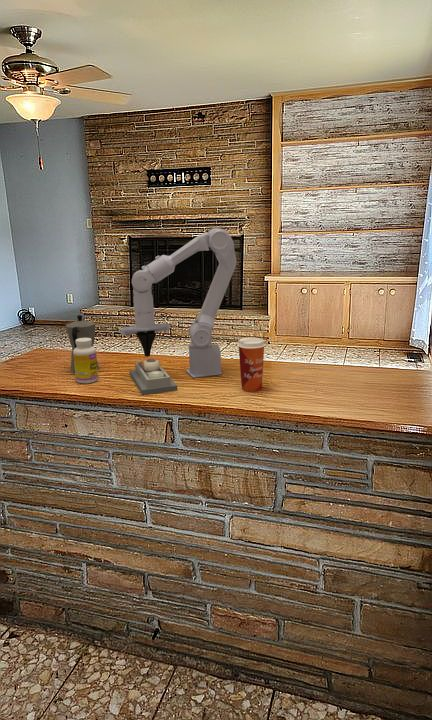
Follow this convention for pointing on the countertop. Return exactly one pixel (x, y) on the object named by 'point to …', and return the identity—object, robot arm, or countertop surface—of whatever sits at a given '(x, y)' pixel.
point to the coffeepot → (80, 334)
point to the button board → (152, 381)
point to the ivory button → (151, 365)
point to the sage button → (155, 374)
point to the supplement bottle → (85, 361)
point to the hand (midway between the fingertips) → (147, 355)
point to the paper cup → (251, 363)
